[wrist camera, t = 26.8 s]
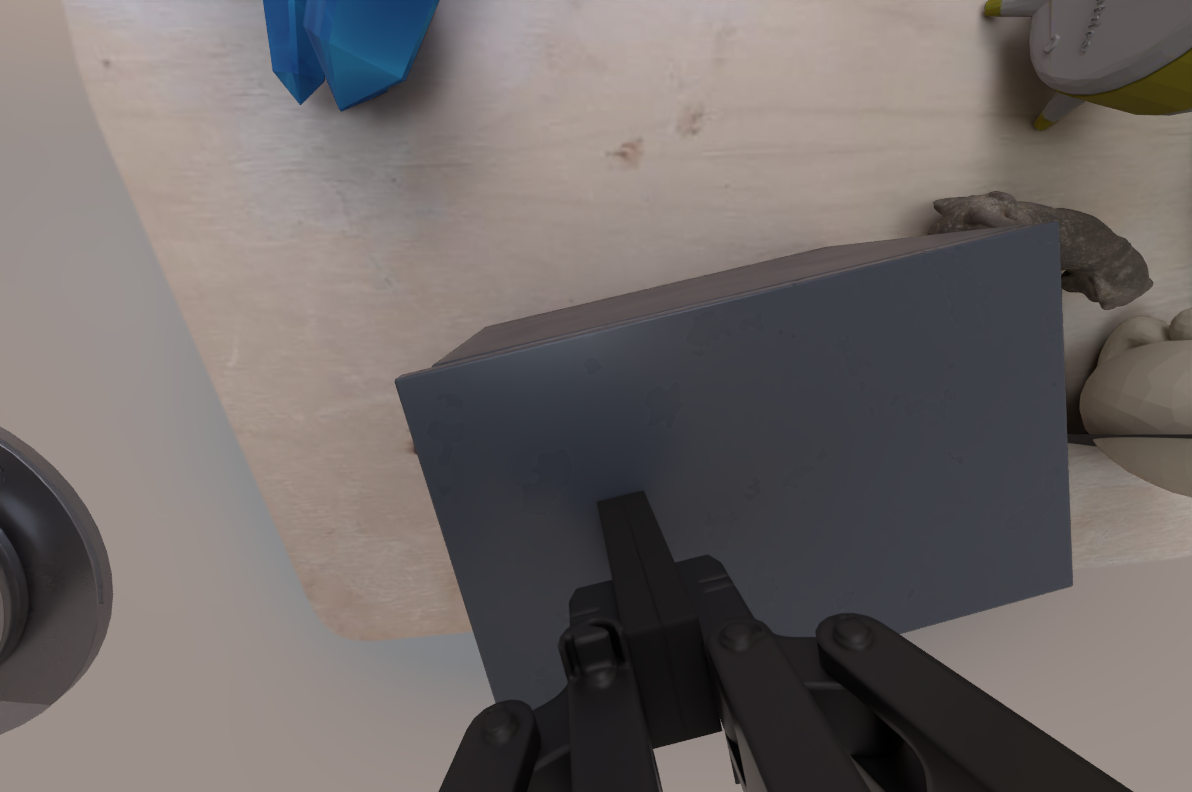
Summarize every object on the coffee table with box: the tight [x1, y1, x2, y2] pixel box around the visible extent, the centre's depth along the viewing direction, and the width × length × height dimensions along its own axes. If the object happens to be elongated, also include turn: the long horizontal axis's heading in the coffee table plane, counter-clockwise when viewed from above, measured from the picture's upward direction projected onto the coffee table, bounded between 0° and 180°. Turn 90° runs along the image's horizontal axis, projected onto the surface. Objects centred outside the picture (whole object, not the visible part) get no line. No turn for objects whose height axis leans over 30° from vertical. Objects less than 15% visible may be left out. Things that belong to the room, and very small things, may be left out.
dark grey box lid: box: [395, 221, 1073, 710], centre depth 18 cm, size 21×13×1 cm, turn 103°
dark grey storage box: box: [432, 224, 1031, 367], centre depth 26 cm, size 20×13×14 cm, turn 103°
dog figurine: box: [928, 191, 1153, 310], centre depth 29 cm, size 12×6×7 cm, turn 76°
